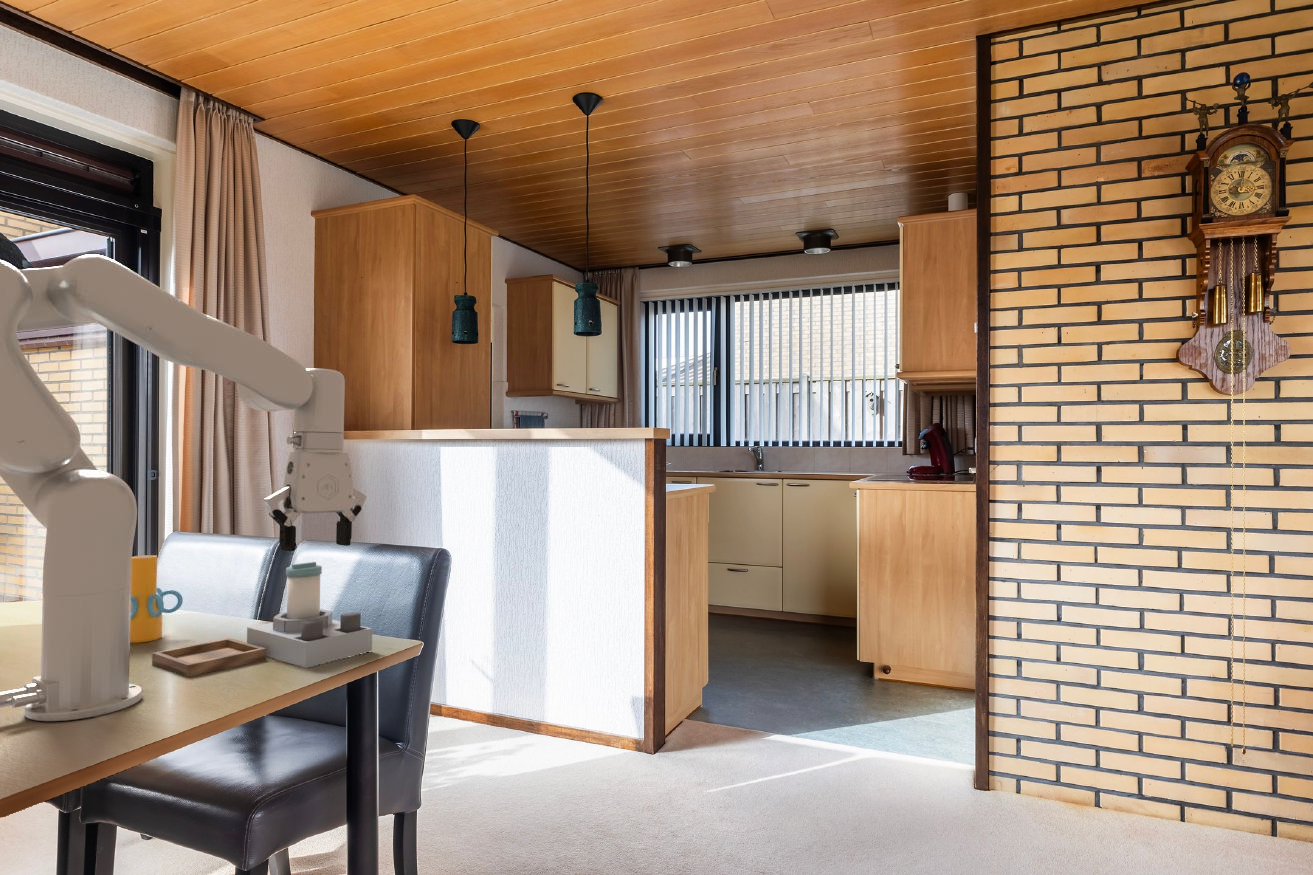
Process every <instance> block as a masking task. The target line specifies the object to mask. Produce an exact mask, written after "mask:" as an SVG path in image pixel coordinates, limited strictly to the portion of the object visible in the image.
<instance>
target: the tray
mask: <svg viewBox="0 0 1313 875" xmlns="http://www.w3.org/2000/svg"><path fill="white" fill-rule="evenodd" d="M265 660H267V657H266V648H263V647H259V646H256V645H252V644H249V643H247V642H244V641H241V640H237V639H234V638H230V637H228V638H222V639H217V640H212V641H207V642H201V643H197V644H192V645H191V644H190V645H185V646H181V647H176V648H170V649H165V650H160V651H155V652H152V653H151V664H152V665H153V664H154V665H153V666H156V667H158V668H161V667H162V669H164V670H166V671H169V670H170V672H172V673H175V672H176V673H175V674H178V673H179V674H178V675H180V674H181V675H182V676H183V675H184V677H186V676H190V677H193V675H194V676H199V675H203V674H206V673H211V672H216V671H220V670H224V669H228V667H230V668H234V667H238V666H242V664H243V665H246V664H247V665H248V664H251V663H256V661H257V662H262V661H265ZM202 673H203V674H202Z"/></svg>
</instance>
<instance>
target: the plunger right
mask: <svg viewBox="0 0 1313 875" xmlns="http://www.w3.org/2000/svg"><path fill="white" fill-rule="evenodd" d="M361 616H362V615H361V613H360V612H345V613H341V614H340V620H339V621H340V632H344V633H350V632H354V631H359V630H360V628H361V626H362V625H361V622H362V620H361Z"/></svg>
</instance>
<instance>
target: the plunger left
mask: <svg viewBox="0 0 1313 875" xmlns="http://www.w3.org/2000/svg"><path fill="white" fill-rule="evenodd" d="M322 638H323V621H322V620H308V621H304V622H302V623H301V640H303V641H307V642H308V641H313V640H317V639H322Z"/></svg>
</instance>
